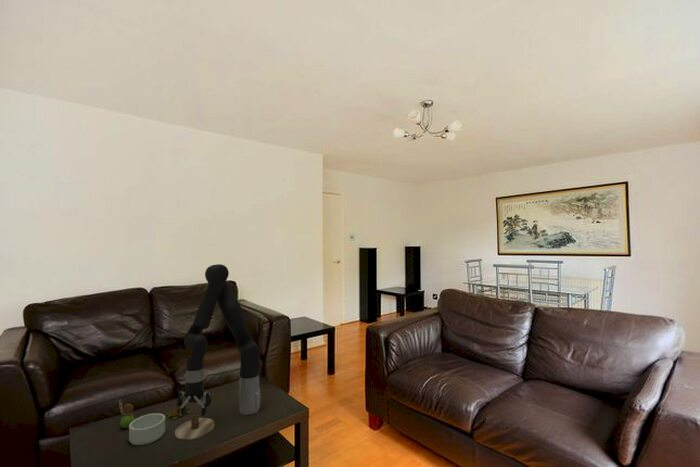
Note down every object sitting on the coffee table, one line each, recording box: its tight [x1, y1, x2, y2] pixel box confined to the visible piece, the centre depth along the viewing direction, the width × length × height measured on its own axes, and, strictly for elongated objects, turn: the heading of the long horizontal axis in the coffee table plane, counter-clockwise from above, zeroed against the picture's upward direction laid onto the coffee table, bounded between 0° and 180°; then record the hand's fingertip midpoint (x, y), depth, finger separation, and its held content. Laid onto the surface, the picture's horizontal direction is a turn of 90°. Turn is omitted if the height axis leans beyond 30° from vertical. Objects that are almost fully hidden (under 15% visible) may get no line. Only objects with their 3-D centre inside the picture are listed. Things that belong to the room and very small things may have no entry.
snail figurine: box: [118, 399, 136, 429], centre depth 148 cm, size 5×6×12 cm
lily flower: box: [165, 404, 192, 420], centre depth 159 cm, size 12×12×5 cm
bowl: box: [128, 412, 166, 446], centre depth 140 cm, size 13×13×6 cm
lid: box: [174, 413, 215, 441], centre depth 146 cm, size 16×16×6 cm
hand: (193, 415), depth 146 cm, fingers open, 8 cm apart
